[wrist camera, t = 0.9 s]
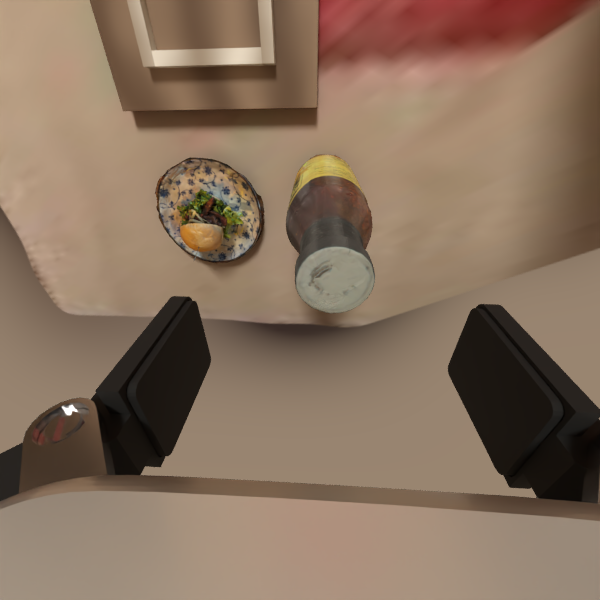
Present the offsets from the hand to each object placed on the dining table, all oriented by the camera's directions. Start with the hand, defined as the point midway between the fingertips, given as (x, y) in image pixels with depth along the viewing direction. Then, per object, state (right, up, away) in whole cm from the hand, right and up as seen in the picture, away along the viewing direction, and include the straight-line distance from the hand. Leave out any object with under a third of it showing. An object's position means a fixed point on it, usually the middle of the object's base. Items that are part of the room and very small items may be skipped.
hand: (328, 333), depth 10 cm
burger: (-11, +12, +23) cm, 28 cm away
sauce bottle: (+2, +14, +20) cm, 25 cm away
